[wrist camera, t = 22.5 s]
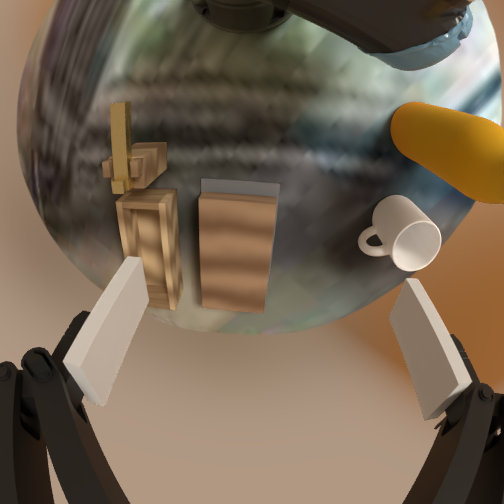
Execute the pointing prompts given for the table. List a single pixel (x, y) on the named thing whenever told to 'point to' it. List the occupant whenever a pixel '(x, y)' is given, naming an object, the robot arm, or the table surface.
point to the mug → (402, 234)
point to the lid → (235, 250)
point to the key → (121, 147)
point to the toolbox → (151, 224)
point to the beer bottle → (453, 148)
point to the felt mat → (244, 188)
